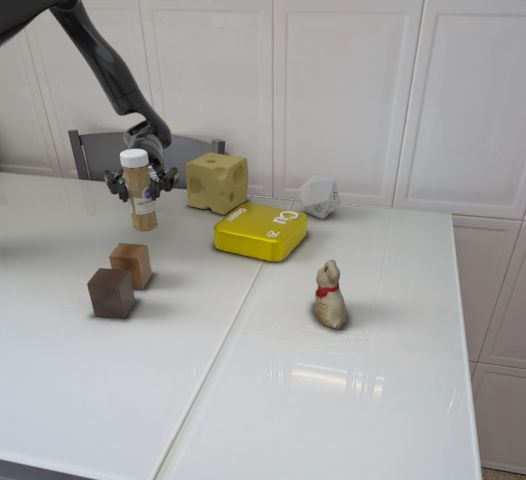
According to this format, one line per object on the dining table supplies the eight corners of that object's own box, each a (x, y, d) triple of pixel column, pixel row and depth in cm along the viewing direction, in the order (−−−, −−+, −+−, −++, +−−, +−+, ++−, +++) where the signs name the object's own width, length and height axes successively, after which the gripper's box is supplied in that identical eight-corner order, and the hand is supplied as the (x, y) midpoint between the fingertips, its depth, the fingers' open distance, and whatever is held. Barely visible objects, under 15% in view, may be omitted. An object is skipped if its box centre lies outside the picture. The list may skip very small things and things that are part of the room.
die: (302, 226, 107) (333, 193, 101) (283, 195, 109) (312, 160, 103) (325, 228, 113) (356, 197, 107) (306, 199, 116) (335, 166, 109)
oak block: (115, 287, 86) (108, 256, 82) (125, 273, 90) (119, 242, 86) (143, 289, 85) (137, 258, 82) (152, 275, 89) (147, 244, 85)
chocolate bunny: (349, 303, 82) (356, 248, 76) (343, 330, 76) (350, 273, 70) (316, 299, 83) (320, 244, 77) (307, 325, 77) (311, 268, 71)
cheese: (225, 216, 110) (222, 170, 103) (185, 206, 114) (181, 162, 108) (249, 200, 117) (248, 157, 111) (211, 192, 121) (208, 149, 115)
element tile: (245, 220, 108) (244, 198, 105) (309, 232, 103) (310, 210, 100) (210, 248, 97) (209, 225, 94) (280, 264, 92) (281, 240, 89)
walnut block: (94, 316, 79) (86, 283, 75) (106, 299, 83) (99, 267, 79) (125, 318, 78) (118, 286, 75) (135, 301, 82) (129, 269, 78)
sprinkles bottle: (150, 234, 89) (137, 157, 80) (128, 230, 90) (113, 154, 81) (162, 224, 92) (152, 149, 83) (141, 220, 93) (129, 146, 85)
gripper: (103, 144, 94) (90, 176, 81) (178, 141, 96) (178, 172, 83) (110, 183, 99) (100, 219, 86) (182, 179, 101) (183, 214, 87)
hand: (138, 195), depth 84 cm, fingers closed on sprinkles bottle, 4 cm apart
